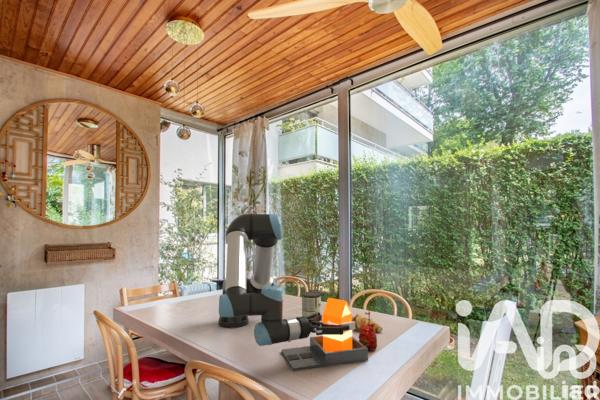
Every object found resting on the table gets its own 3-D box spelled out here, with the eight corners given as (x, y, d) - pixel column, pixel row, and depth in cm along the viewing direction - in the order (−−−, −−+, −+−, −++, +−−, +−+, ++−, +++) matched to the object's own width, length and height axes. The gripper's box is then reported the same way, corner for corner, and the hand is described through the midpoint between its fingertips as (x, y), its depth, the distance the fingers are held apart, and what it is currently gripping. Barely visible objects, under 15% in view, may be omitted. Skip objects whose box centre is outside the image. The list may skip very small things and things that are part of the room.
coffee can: (302, 317, 168) (302, 291, 170) (321, 318, 167) (321, 291, 169) (300, 323, 158) (300, 295, 159) (320, 324, 157) (320, 295, 158)
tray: (293, 371, 105) (293, 357, 106) (281, 352, 122) (281, 340, 122) (368, 360, 114) (367, 348, 114) (347, 344, 130) (347, 333, 130)
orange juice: (333, 346, 125) (333, 296, 127) (352, 351, 120) (352, 299, 121) (322, 352, 119) (322, 299, 121) (342, 358, 114) (341, 302, 115)
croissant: (384, 338, 146) (386, 321, 150) (378, 334, 139) (381, 316, 143) (343, 330, 157) (346, 314, 161) (336, 325, 150) (339, 308, 154)
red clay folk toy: (355, 348, 125) (355, 310, 127) (364, 343, 131) (363, 307, 132) (372, 353, 121) (371, 314, 122) (380, 348, 126) (379, 310, 127)
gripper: (282, 328, 123) (327, 321, 133) (313, 351, 101) (364, 340, 111) (282, 309, 124) (327, 303, 133) (313, 327, 102) (364, 319, 111)
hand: (344, 320), depth 122 cm, fingers open, 13 cm apart
